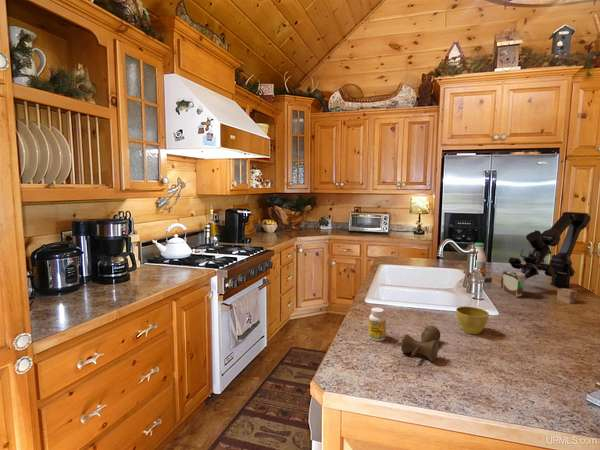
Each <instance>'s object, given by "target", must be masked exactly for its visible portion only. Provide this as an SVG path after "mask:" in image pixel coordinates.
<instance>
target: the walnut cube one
mask: <svg viewBox="0 0 600 450" xmlns="http://www.w3.org/2000/svg"><path fill="white" fill-rule="evenodd" d="M491 286H496V287H499V288H503V275H502V274H499V273H498V274H492V277H491Z"/></svg>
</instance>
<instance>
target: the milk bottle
mask: <svg viewBox="0 0 600 450" xmlns="http://www.w3.org/2000/svg"><path fill="white" fill-rule="evenodd" d="M474 245H475V247H476V248H477V250H478V253H477V260H476V268H479V269H480V270H481V273H482V275H483V278H484V282H485V280H486V274H487V273H486V272H487V271H486V270H487V257H486V254H485V251H484V248H485V243H483V242H475V243H474V244H473V246H474Z"/></svg>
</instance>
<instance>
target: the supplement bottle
mask: <svg viewBox="0 0 600 450" xmlns="http://www.w3.org/2000/svg"><path fill="white" fill-rule="evenodd" d="M370 311H371V312H370V313H371V314H370V315H368V337H369V339H370V340H373V341H376V342H380V341H384V340H385V339H386V329H387V318H386V316H385V315H384V314H385V313H384V311H385V310H384V308H381V307H372V308H371V309H370Z"/></svg>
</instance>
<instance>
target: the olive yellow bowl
mask: <svg viewBox="0 0 600 450" xmlns="http://www.w3.org/2000/svg"><path fill="white" fill-rule="evenodd" d="M455 312H456V317H457V320H458V323H459V325H460V328H461V329H462V331H463V332H464V333H467V334H470V335H478V334H480V333H481V331H483V329H484V327H486V324H487V322H488V319H489V316H490V313H489V312H488V311H487V310H485V309H482V308H479V307H475V306H459V307H457V308H455Z"/></svg>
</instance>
